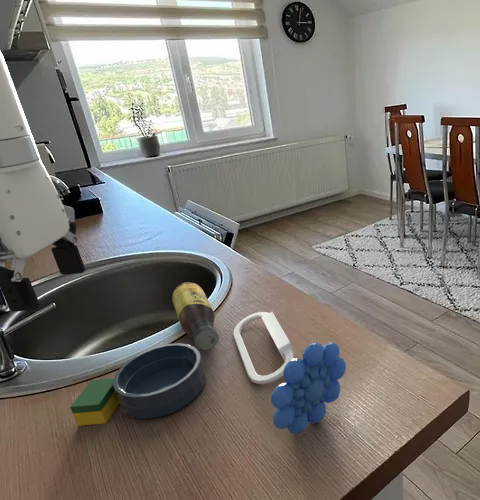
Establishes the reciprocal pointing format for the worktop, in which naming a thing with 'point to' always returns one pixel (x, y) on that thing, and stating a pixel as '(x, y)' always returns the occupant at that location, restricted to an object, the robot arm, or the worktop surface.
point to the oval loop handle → (279, 339)
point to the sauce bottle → (195, 315)
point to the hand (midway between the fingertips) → (51, 289)
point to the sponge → (95, 403)
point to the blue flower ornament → (308, 387)
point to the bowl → (159, 380)
